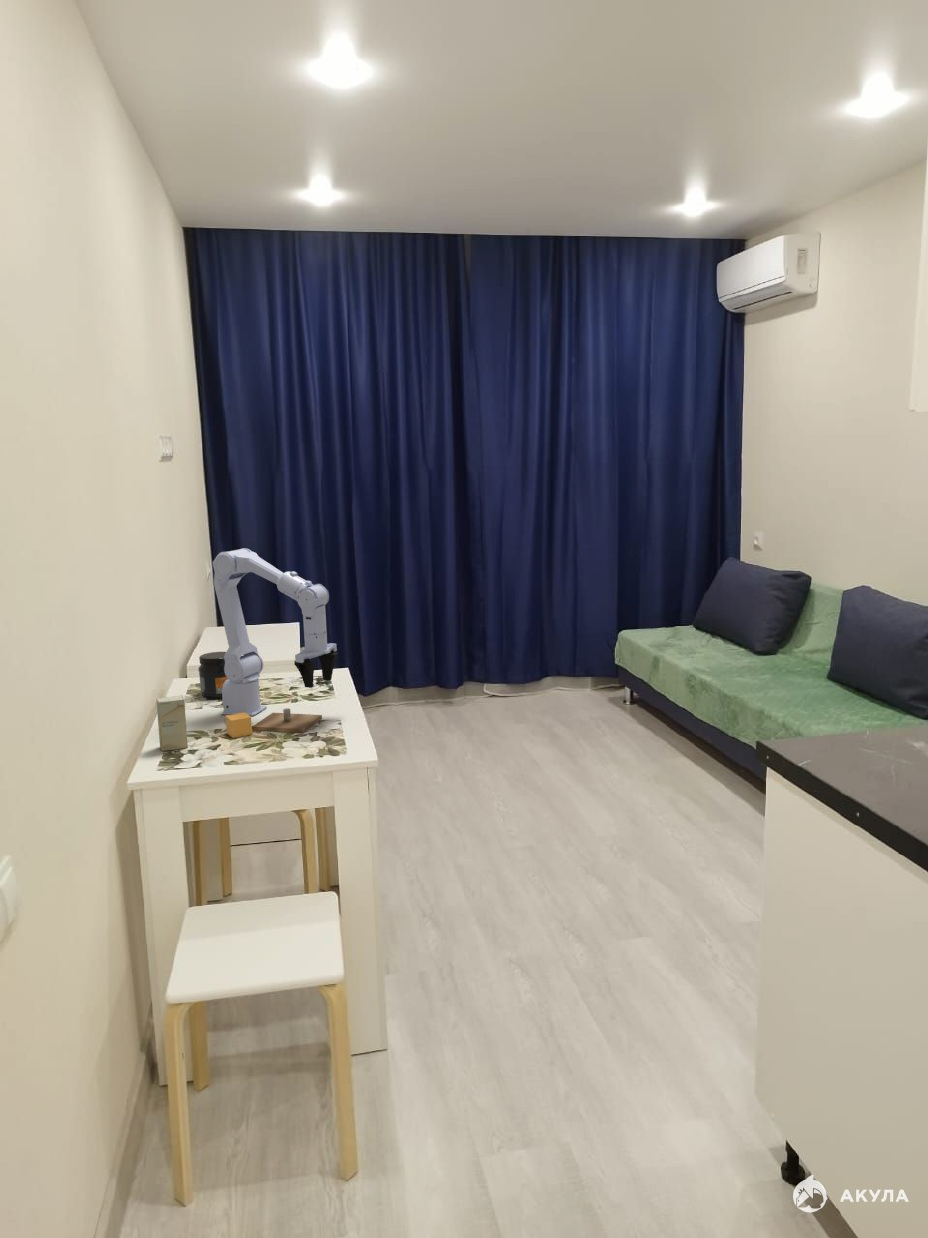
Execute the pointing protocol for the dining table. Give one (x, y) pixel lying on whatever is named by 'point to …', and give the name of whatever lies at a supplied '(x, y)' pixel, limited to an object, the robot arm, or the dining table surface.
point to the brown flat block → (287, 722)
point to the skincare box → (172, 723)
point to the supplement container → (212, 674)
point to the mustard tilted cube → (238, 725)
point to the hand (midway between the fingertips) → (318, 683)
